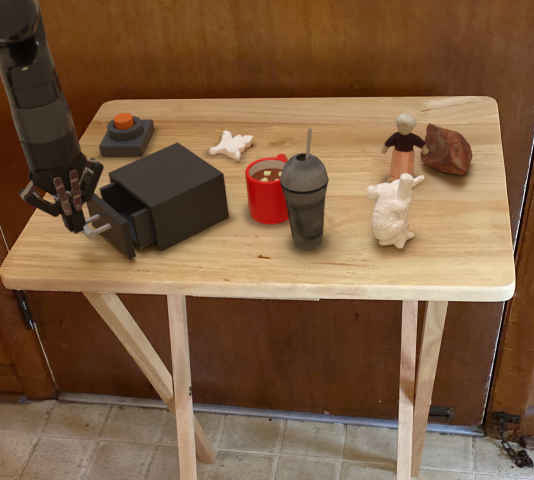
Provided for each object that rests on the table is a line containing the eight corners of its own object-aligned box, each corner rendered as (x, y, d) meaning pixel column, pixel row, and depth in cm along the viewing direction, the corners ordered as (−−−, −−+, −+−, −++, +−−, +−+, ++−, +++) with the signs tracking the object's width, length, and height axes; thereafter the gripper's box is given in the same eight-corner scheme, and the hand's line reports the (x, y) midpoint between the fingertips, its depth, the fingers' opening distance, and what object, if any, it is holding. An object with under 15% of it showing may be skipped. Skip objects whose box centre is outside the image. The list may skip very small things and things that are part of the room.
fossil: (473, 174, 133) (451, 117, 131) (425, 193, 137) (403, 138, 135) (481, 161, 144) (461, 108, 142) (437, 178, 148) (416, 127, 146)
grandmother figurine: (382, 188, 139) (383, 121, 130) (379, 176, 141) (381, 109, 133) (427, 185, 138) (432, 118, 130) (424, 173, 141) (428, 106, 132)
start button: (131, 130, 153) (129, 122, 151) (113, 130, 153) (111, 122, 152) (136, 121, 155) (134, 112, 154) (118, 121, 156) (116, 112, 155)
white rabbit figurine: (420, 228, 129) (424, 163, 121) (421, 254, 125) (425, 188, 117) (367, 227, 131) (367, 162, 123) (365, 253, 126) (365, 187, 118)
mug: (307, 185, 141) (305, 145, 136) (289, 226, 133) (286, 185, 127) (263, 181, 143) (259, 142, 138) (243, 221, 135) (238, 181, 129)
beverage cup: (285, 229, 132) (276, 117, 119) (330, 227, 132) (326, 115, 118) (284, 257, 127) (275, 143, 113) (331, 255, 126) (327, 141, 113)
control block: (142, 156, 152) (138, 137, 150) (101, 156, 154) (96, 137, 151) (154, 129, 160) (151, 110, 157) (115, 129, 161) (111, 111, 158)
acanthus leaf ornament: (224, 136, 156) (223, 127, 154) (257, 142, 153) (256, 133, 152) (206, 155, 151) (204, 146, 150) (238, 161, 148) (238, 152, 147)
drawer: (106, 271, 126) (96, 235, 122) (69, 236, 134) (59, 201, 129) (195, 226, 133) (189, 191, 128) (155, 196, 141) (148, 161, 136)
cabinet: (160, 251, 130) (151, 207, 124) (118, 215, 139) (107, 172, 133) (229, 217, 136) (223, 173, 130) (184, 184, 144) (177, 142, 138)
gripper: (75, 99, 114) (103, 201, 126) (-12, 134, 109) (26, 238, 121) (101, 117, 110) (127, 222, 122) (12, 155, 104) (48, 261, 116)
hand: (76, 229), depth 121 cm, fingers closed
